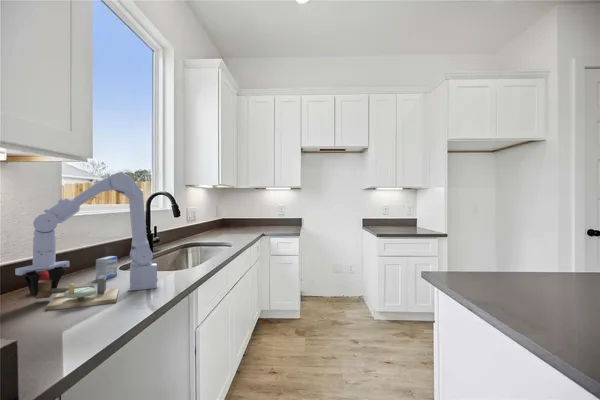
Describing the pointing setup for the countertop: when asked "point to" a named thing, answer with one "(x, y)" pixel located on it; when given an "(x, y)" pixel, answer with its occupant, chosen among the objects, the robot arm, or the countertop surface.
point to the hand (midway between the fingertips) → (43, 293)
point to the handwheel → (79, 292)
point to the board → (83, 300)
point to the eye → (101, 284)
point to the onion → (44, 275)
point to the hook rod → (47, 291)
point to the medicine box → (106, 267)
